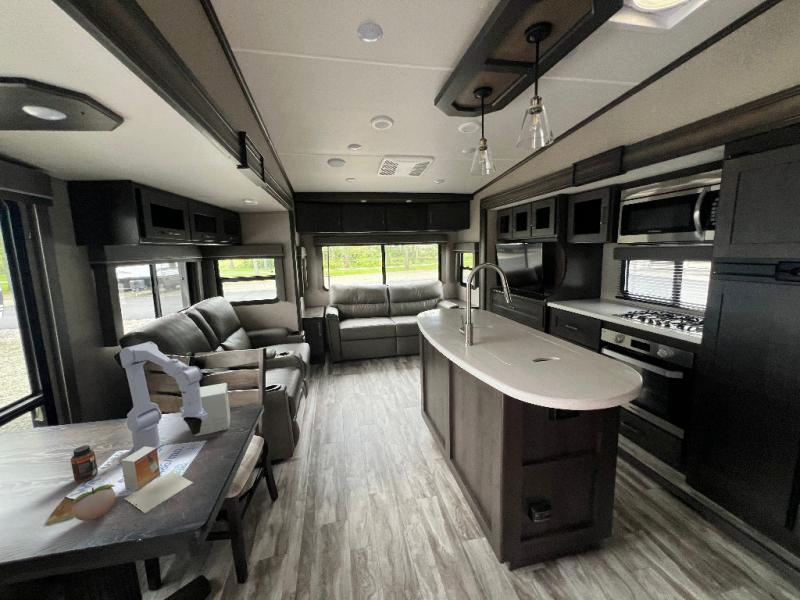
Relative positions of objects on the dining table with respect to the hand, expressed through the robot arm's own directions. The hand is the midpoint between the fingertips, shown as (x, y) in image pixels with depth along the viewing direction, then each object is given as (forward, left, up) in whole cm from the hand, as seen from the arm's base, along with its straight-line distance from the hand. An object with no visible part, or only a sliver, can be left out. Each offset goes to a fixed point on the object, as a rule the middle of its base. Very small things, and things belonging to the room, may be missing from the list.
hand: (196, 433), depth 118 cm
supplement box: (-18, +17, -11) cm, 27 cm away
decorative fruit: (+1, -30, -11) cm, 32 cm away
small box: (-5, -16, -11) cm, 20 cm away
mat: (+6, -16, -10) cm, 20 cm away
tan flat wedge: (-12, -34, -11) cm, 38 cm away
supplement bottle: (-26, -24, -11) cm, 37 cm away
